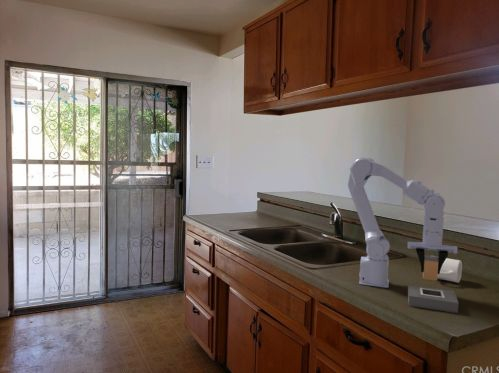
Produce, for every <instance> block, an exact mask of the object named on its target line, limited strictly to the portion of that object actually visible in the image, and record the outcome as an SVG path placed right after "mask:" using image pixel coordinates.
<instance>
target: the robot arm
mask: <svg viewBox="0 0 499 373" xmlns="http://www.w3.org/2000/svg"><path fill="white" fill-rule="evenodd" d="M372 176H374V177H381V178H383V179H385V180H387V181H389V182H390V183H392V184H394V185H396V187H399V188H400V189H402V193H403V195H404V196H406V197H408V198H409V199H410V200H412V201H413V202H415V203H417V204H418V205H420V206H423V207H424V209H425V210H424V217H423V226H422V228H423V230H422V241H420V242H419V241H407V249H409V250H410V249H412V250H413V249H415V252H416V255H417V258H418V260H419V262H420V272H421V273H423V272H424V255H426V254H425V251H432V252H433V251H434V252H437V257H438V259H439V260H438V274H440V270H441V267H442V265H443V263H444V261H445V260H446V258H448V257H449V253H452V254H456V255H457V254H458V246H457V245H456V246H455V245H448V244H443V234H444V221H445V220H444V219H445V218H444V215H445V214H444V209H445V206H446V200H445V198H444V197H443V196H442V195H441V194H440V193H439V192H436V191H435V190H434V189H429V188H428V187H426V186H425V185H423V184H422V181H420V180H415V179H411V180H408V179H406V178H405V177H403V176H402V175H400V174H398V173H397V172H395V171H393V169H391V168H389V167H388V166H386V165H384V164H382V163H381V162H379V161H375V160H374V159H372V158H371V157H370V158H368V157H367V158H366V157H359V158H357V159H355V160H354V162H353V163H352V165H351V166H350V168H349V177H348V183H347V188H348V190H349V194H350V196H351V199H352V200H353V201H352V202H353V204H354V207H355V209H356V212H357V214H358V218H359V220H360V224H361V226H362V229H363V231H364V237H365V238H364V239H365V244H366V246H365V247H366V248H365V249H366V250H365V251H366V254H367V255H366V256H361V257H360V262H359V263H360V265H359V272H358V273H359V275H358V276H359V282H358V283H359V284H360V285H365V286H370V287H371V286H372V287H377V288H378V287H379V288H385V289H388V288H390V287H389V285H390V280H389V278H388V277H389V264H390V258H389V256H388V254H387V253H389V252H390V249H391V245H390V242H389V240H388V239H387V238H386V237H385V235H384V233H383V232H382V231H381V229H380V227H379V224H378V222H377V219H376V216H375V213H374V210H373V208H372V206H371V203H370V200H369V196H368V194H367V192H366V189H365V185H366V183H367V182H368V180H369V179H370V178H371V177H372Z"/></svg>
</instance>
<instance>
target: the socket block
mask: <svg viewBox="0 0 499 373" xmlns="http://www.w3.org/2000/svg"><path fill="white" fill-rule="evenodd" d="M407 286H408V287H407V301H408V306H409V307H414V308H415V307H416V308H421V309H428V310H435V311H441V312H447V313H455V314H458V313H459V300H458V298H457V295H456V293H455V291H454V290H452V289H450V290H449V289H442V288H436V287H428V286H421V285H414V284H413V285H412V284H408V285H407Z"/></svg>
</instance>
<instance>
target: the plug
mask: <svg viewBox="0 0 499 373" xmlns="http://www.w3.org/2000/svg"><path fill="white" fill-rule="evenodd" d="M438 260H439V259H438V255H437V256H435V255H428V254H425V255H424V272H422V279H423V280H426V281H427V280H428V281H436V282H437V281H438V279H437V275H438Z"/></svg>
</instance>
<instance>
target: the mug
mask: <svg viewBox="0 0 499 373" xmlns="http://www.w3.org/2000/svg"><path fill="white" fill-rule="evenodd" d="M462 273H463V262H462V260H459V259H452V258H448V257H447V258H446V260H445V261H444V263H443V265H442V267H441V270H440V274H438V275H437V280H442V281H447V282H452V283H457V284H458V283H460V281H461V278H462Z"/></svg>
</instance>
